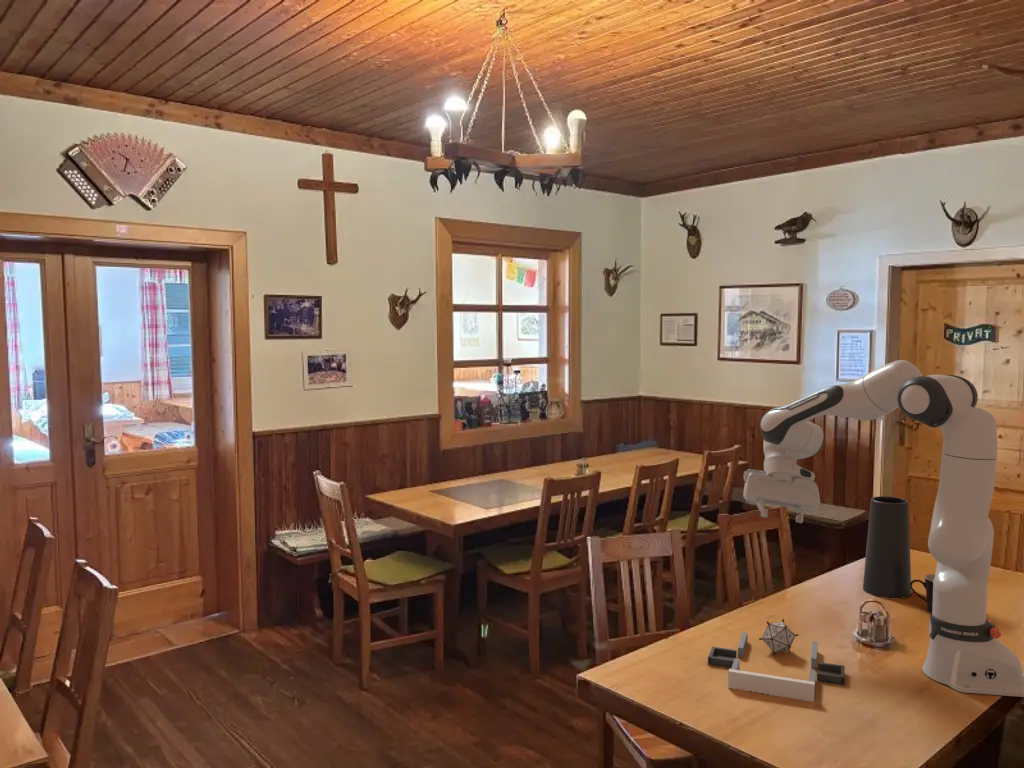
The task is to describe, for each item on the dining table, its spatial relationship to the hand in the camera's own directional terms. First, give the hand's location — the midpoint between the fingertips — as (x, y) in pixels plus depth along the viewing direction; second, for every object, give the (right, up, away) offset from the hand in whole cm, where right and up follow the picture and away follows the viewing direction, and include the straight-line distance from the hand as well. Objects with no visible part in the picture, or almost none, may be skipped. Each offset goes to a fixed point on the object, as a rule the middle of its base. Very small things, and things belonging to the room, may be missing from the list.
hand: (782, 519), depth 216 cm
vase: (+44, -28, +33) cm, 61 cm away
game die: (-5, -32, -13) cm, 35 cm away
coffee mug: (+49, -29, +15) cm, 60 cm away
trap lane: (-9, -32, -22) cm, 40 cm away
